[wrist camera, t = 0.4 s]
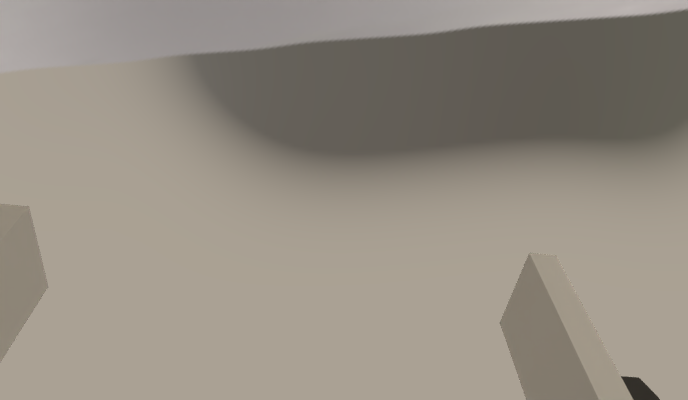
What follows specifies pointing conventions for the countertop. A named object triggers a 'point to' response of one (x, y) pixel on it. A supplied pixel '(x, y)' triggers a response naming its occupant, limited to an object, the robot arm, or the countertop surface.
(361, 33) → the countertop surface
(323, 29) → the countertop surface
